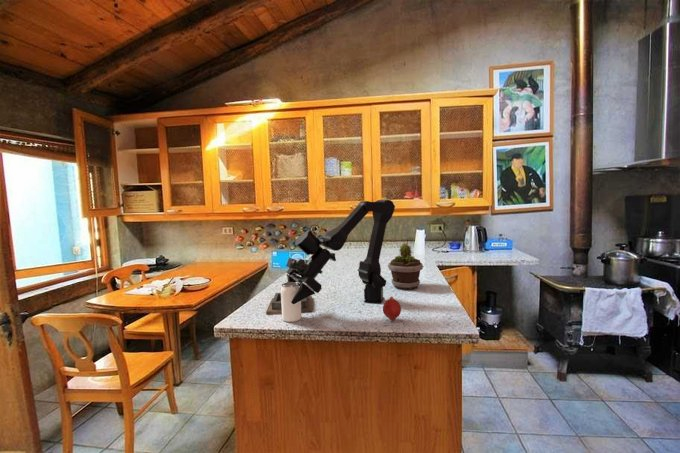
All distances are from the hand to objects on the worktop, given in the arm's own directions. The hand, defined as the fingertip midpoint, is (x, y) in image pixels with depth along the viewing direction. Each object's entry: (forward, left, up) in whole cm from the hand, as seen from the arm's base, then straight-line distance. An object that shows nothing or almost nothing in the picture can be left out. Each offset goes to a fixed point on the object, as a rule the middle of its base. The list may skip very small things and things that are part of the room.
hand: (287, 299), depth 110 cm
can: (-1, -1, -7) cm, 7 cm away
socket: (+7, -13, -7) cm, 16 cm away
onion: (-33, -9, -7) cm, 35 cm away
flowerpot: (-30, -49, -7) cm, 58 cm away
